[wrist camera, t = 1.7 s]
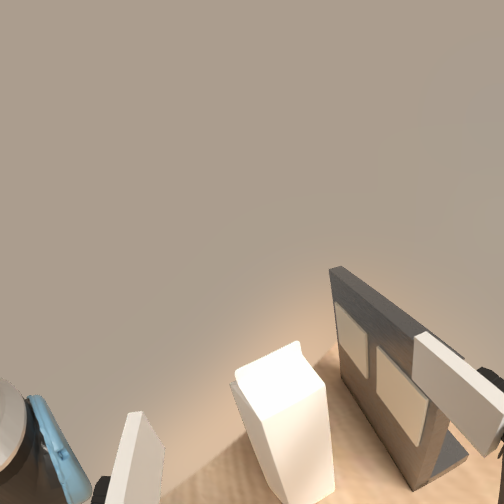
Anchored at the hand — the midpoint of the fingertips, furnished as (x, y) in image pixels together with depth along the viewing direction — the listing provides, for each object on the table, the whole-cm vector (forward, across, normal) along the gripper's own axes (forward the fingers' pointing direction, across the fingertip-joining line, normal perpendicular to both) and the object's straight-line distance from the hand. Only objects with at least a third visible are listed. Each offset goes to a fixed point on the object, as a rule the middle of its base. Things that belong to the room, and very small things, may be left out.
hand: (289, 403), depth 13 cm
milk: (+10, 0, -26) cm, 28 cm away
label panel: (+16, +16, -26) cm, 34 cm away
